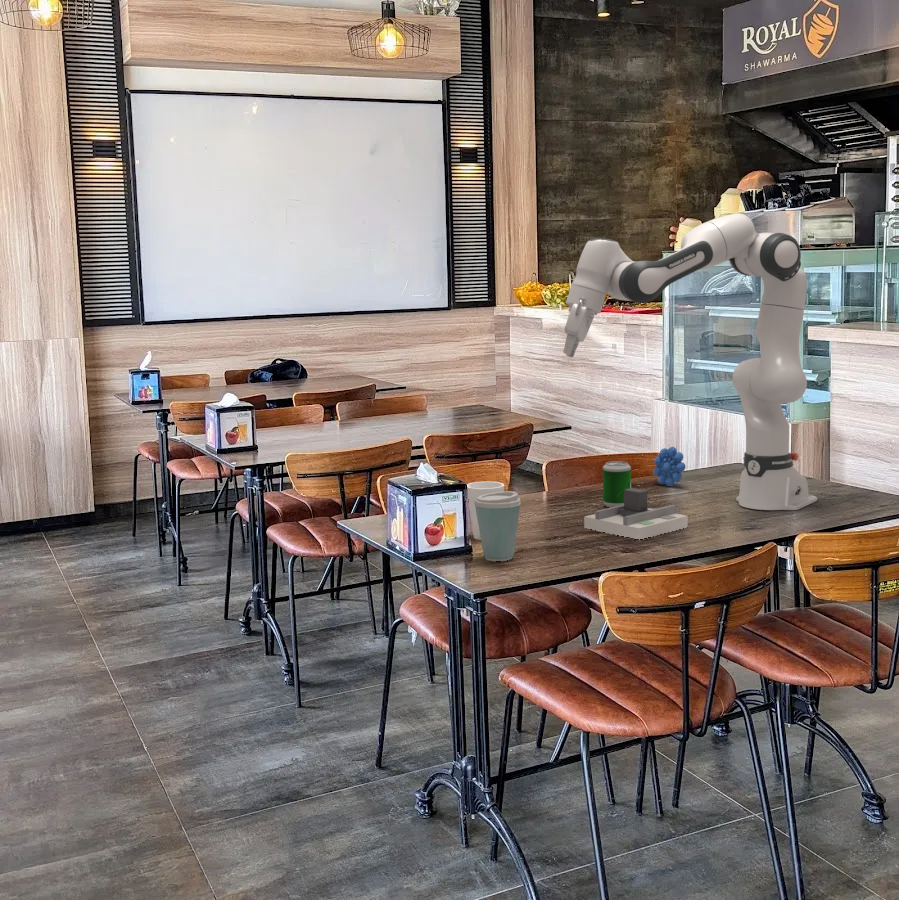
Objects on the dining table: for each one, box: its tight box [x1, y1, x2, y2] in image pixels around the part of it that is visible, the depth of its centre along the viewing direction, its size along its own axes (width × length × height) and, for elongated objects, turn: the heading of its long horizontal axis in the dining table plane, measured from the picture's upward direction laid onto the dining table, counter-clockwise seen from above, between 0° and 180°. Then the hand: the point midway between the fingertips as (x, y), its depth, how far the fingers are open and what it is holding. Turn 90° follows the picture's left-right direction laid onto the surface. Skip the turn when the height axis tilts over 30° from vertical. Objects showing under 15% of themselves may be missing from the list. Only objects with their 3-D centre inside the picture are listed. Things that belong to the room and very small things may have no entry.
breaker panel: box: [583, 499, 689, 541], centre depth 276 cm, size 18×18×5 cm
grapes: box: [653, 446, 687, 487], centre depth 325 cm, size 12×7×12 cm, turn 38°
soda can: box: [602, 460, 632, 508], centre depth 300 cm, size 8×8×12 cm
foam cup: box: [466, 480, 505, 541], centre depth 271 cm, size 10×9×13 cm
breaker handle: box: [618, 487, 649, 516], centre depth 276 cm, size 5×7×6 cm
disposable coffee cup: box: [474, 490, 522, 562], centre depth 251 cm, size 11×11×15 cm
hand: (568, 355), depth 274 cm, fingers open, 8 cm apart
